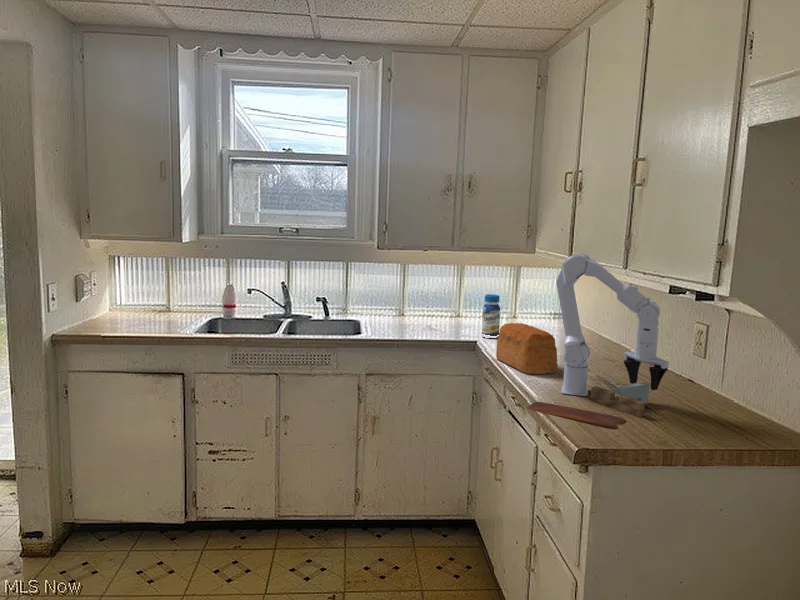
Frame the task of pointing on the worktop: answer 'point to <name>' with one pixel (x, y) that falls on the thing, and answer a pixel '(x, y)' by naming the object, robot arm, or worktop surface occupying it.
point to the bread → (527, 348)
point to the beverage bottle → (491, 315)
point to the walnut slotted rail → (618, 401)
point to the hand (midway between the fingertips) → (643, 386)
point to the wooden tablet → (577, 414)
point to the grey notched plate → (636, 391)
